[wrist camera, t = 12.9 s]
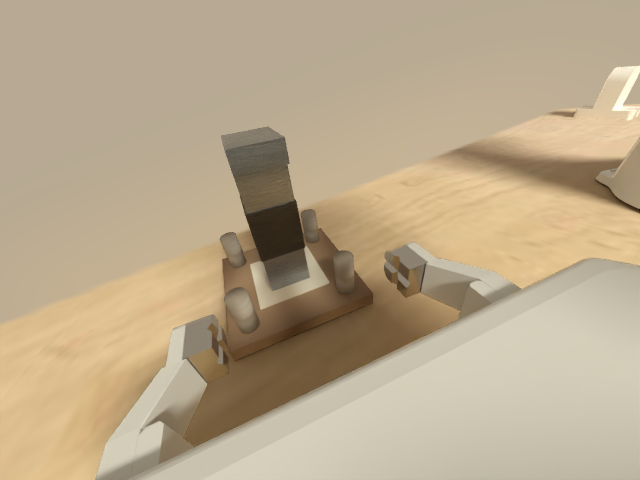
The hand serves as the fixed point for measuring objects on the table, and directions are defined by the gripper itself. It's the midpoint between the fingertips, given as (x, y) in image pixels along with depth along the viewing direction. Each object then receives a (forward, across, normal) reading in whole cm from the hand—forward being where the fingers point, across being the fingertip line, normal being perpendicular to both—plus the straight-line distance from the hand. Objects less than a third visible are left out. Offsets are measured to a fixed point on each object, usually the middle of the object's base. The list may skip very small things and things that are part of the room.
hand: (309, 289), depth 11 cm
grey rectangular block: (+10, 0, +8) cm, 13 cm away
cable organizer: (+28, -86, +9) cm, 90 cm away
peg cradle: (+10, 0, +9) cm, 14 cm away
